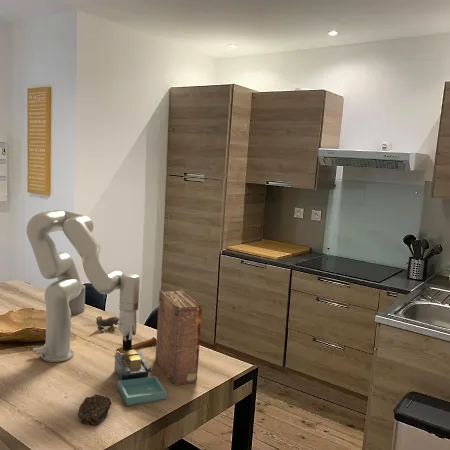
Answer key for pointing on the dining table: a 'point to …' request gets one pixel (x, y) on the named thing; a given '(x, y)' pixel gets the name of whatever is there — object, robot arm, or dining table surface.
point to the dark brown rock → (94, 409)
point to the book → (178, 336)
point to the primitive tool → (140, 345)
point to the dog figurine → (107, 323)
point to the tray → (141, 390)
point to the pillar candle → (78, 302)
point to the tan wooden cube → (129, 354)
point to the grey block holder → (130, 373)
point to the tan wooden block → (134, 361)
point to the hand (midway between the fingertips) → (126, 349)
